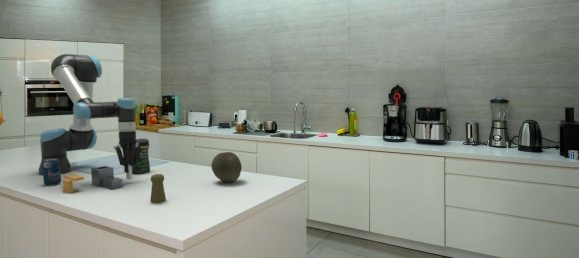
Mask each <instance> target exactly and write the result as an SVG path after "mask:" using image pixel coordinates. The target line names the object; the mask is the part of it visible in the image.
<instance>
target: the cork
mask: <svg viewBox="0 0 579 258" xmlns="http://www.w3.org/2000/svg"><path fill="white" fill-rule="evenodd" d="M164 181H165V175H163V174H162V173H156V174H152V175H151V176H150V182H151V192H150V204H151V203H152V204H161V202H162V203H165V202H166V201H167V198H166V192H165V187H164ZM164 201H165V202H164Z"/></svg>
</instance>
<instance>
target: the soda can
mask: <svg viewBox="0 0 579 258" xmlns="http://www.w3.org/2000/svg"><path fill="white" fill-rule="evenodd" d="M42 177H43V184H44V185H45V186H48V187H51V186H57V185H60V184H61V182H62V174H61V171H60V162H59V160H58V159H57V158H52V159H45V160H44V162H43V175H42Z"/></svg>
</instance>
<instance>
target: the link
mask: <svg viewBox="0 0 579 258" xmlns="http://www.w3.org/2000/svg"><path fill="white" fill-rule="evenodd" d="M90 173H91V185H92V186H94V187H98V188H104V187H105V188H104V189H108V190H111V191H113V190H117V189H121V188H124V187H123V185H124V184H123V178H120V177H116V176H114V175H115V174H114V173H115V172H114V167H113V166H112V167H111V166H107V165H102V166H96V167H91V168H90Z"/></svg>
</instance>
